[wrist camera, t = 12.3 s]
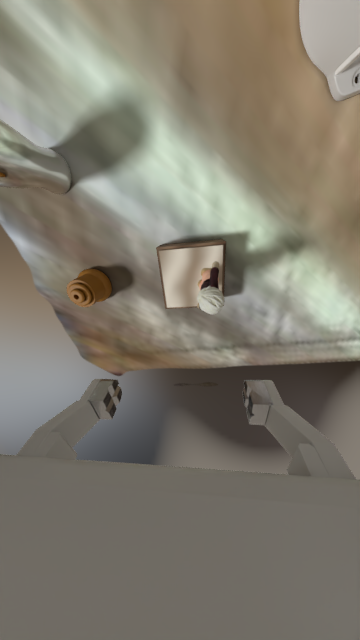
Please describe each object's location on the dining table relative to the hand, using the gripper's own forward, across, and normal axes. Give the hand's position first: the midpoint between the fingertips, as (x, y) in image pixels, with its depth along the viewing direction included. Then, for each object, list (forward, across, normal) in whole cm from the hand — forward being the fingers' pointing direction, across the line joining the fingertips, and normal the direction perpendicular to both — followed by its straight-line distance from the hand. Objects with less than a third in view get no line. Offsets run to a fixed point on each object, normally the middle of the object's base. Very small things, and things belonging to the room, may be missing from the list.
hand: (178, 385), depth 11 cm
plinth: (+29, 0, 0) cm, 29 cm away
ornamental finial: (+29, +22, +1) cm, 37 cm away
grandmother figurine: (+24, -3, 0) cm, 24 cm away
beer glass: (+29, +23, -19) cm, 42 cm away
